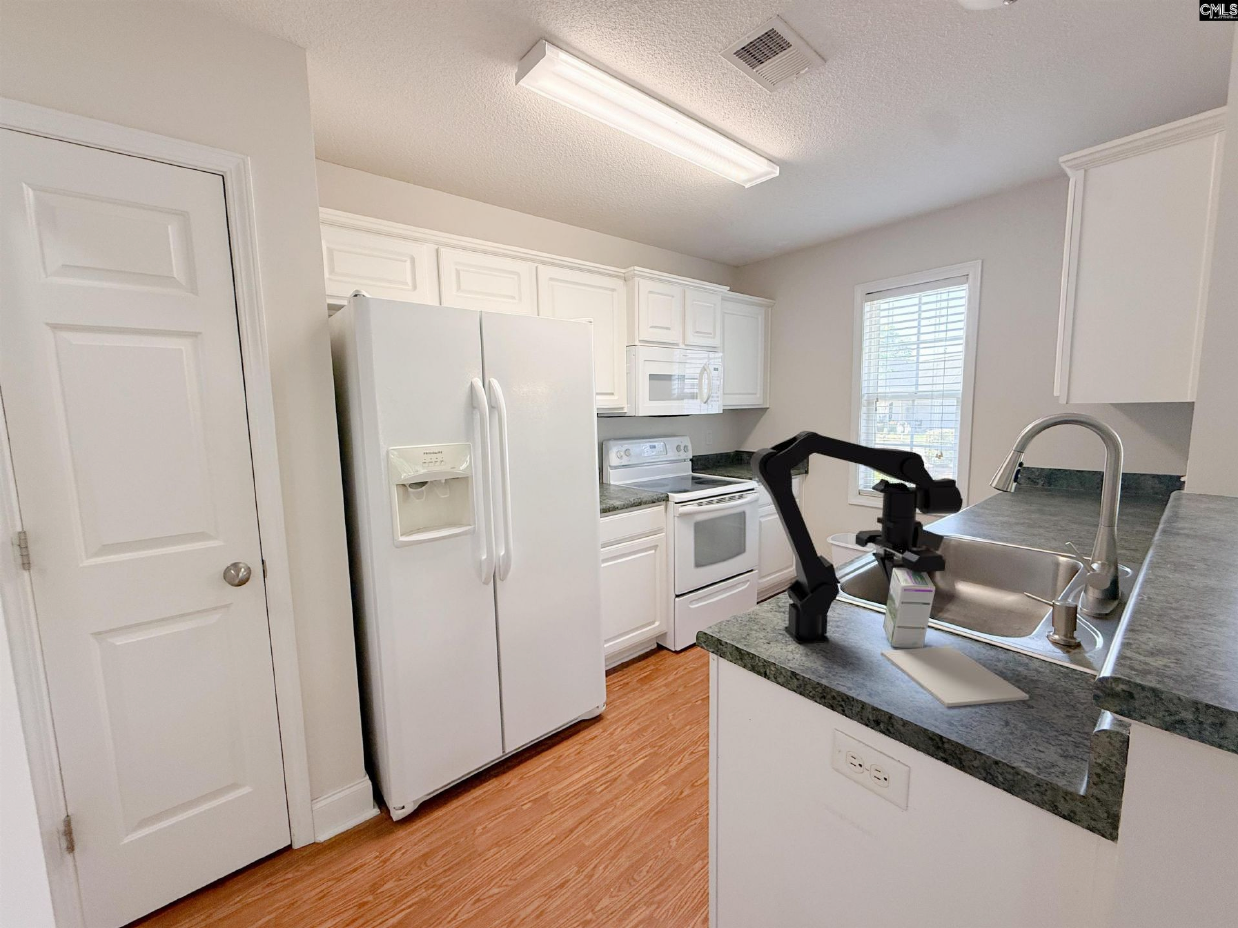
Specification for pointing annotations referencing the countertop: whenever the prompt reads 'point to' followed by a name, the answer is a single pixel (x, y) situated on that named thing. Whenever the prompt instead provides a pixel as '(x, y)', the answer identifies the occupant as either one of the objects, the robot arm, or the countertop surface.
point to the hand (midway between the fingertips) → (894, 591)
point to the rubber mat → (953, 676)
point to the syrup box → (908, 608)
